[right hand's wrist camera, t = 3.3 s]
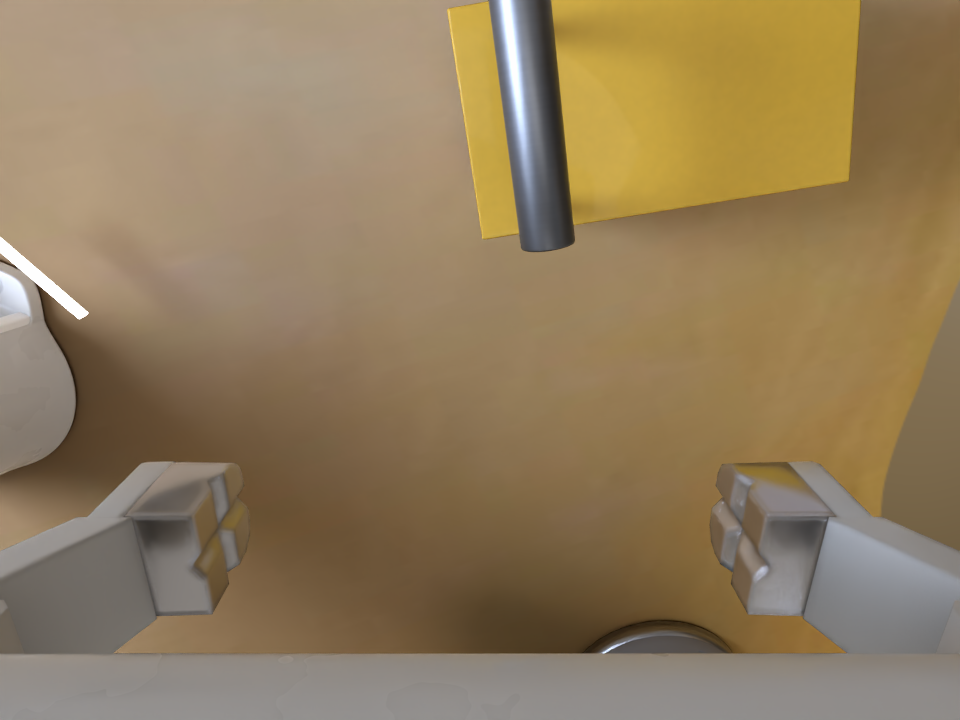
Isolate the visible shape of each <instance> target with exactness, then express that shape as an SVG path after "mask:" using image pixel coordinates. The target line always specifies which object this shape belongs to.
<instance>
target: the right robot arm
mask: <svg viewBox="0 0 960 720" xmlns="http://www.w3.org/2000/svg"><path fill="white" fill-rule="evenodd" d="M0 252H1V253H2V254H3V255H4V256H5V257H6V258H8V259H9V260H10V261H11V262H12V263H13V264H15V265H16V266H17V267H18V268H19V269H21V270H22V271H21V270H18V269H16V268H14V267H12V266H9V265H7V264H5V263H2V262H0V475H1V474H4V473H6V472H8V471H11V470H14V469H16V468H19V467H22V466H26V465H29V464H32V463H34V462H36V461H39V460H41V459H42V458H44V457H46V456H47V455H49V454H50V453H51V452H53V451H54V450H55V449H56V448H57V447H58V446H59V445H60V444H61V443H62V441H63V440H64V439H65V437H66V436H67V434H68V432H69V430H70V428H71V425H72V422H73V419H74V414H75V408H76V393H75V386H74V381H73V377H72V374H71V371H70V368H69V365H68V363H67V361H66V359H65V356H64V355H63V353H62V351H61V349H60V348H59V346H58V344H57V343H56V341H55V339H54V338H53V336H52V335H51V333H50V331H49V329H48V328H47V325H46V323H45V321H44V315H43V309H42V304H41V299H40V295H39V292H38V289H37V286H36V284H35V283H34V281H35V282H36V283H37V284H38V285H39V286H41V287H42V288H43V289H44V290H45V291H46V292H48V293H49V294H50V295H51V296H52V297H53V298H55V299H56V300H57V301H58V302H59V303H61V304H62V305H63V306H64V307H65V308H66V309H68V310H69V311H70V312H71V313H72V314H73V315H75V316H76V317H77V318H78V319H81V318H83V317H85V316H86V315H87V314H88V312H87V311H86V310H84V309H83V308H82V307H81V306H80V305H79V304H77V303H76V302H75V301H74V300H73V299H72V298H70V297H69V296H68V295H67V294H66V293H65V292H64V291H62V290H61V289H60V288H59V287H58V286H57V285H55V284H54V283H53V282H52V281H51V280H50V279H48V278H47V277H46V276H45V275H44V274H43V273H41V272H40V271H39V270H38V269H37V268H36V267H34V266H33V265H32V264H31V263H30V262H29V261H27V260H26V259H25V258H24V257H23V256H22V255H20V254H19V253H18V252H17V251H16V250H15V249H13V248H12V247H11V246H10V245H9V244H8V243H6V242H5V241H4V240H3V239H2V238H1V237H0ZM243 487H244V482H243V477H242V472H241V468H240V467H239V466H238V465H237V464H236V463H212V462H174V461H167V462H146V463H141V464H140V465H139V466H138V467H137V468H136V469H135V470H134V471H133V472H132V473H131V474H130V475H129V476H128V477H127V478H126V479H125V480H124V481H123V482H122V483H121V484H120V485H119V486H118V487H117V488H116V489H115V490H114V491H113V492H112V493H111V494H110V495H109V496H108V497H107V498H106V499H105V500H104V501H103V502H102V503H101V504H100V505H99V506H98V507H97V508H96V509H95V510H94V511H93V512H92V513H91V514H90V515H89V516H88V517H76V518H74V519H72V520H70V521H67V522H65V523H63V524H61V525H58V526H56V527H54V528H51V529H49V530H47V531H45V532H42V533H40V534H38V535H36V536H33V537H31V538H29V539H27V540H24V541H22V542H20V543H18V544H15V545H13V546H11V547H8V548H6V549H4V550H2V551H0V720H960V551H958V550H956V549H954V548H951V547H949V546H947V545H945V544H942V543H940V542H938V541H936V540H933V539H931V538H929V537H926V536H924V535H922V534H920V533H917V532H915V531H913V530H911V529H908V528H906V527H904V526H902V525H899V524H897V523H895V522H893V521H890V520H888V519H886V518H884V517H872V516H871V515H870V514H869V513H868V512H867V511H866V510H865V509H864V508H863V507H862V506H861V505H860V504H859V503H858V502H857V501H856V500H855V499H854V498H853V497H852V496H851V495H850V494H849V493H848V492H847V491H846V490H845V489H844V488H843V487H842V486H841V485H840V484H839V483H838V482H837V481H836V480H835V479H834V478H833V477H832V476H831V475H830V474H829V473H828V472H827V471H826V470H825V469H824V468H823V467H822V466H821V465H820V464H818V463H816V462H813V461H803V462H773V463H733V464H722V465H721V468H720V470H719V472H718V476H717V481H716V487H717V489H718V490H719V492H720V493H721V495H722V496H723V497H722V498H721V499H720V500H719V501H718V502H717V503H716V504H715V505H714V506H713V507H712V511H711V519H710V534H711V543H712V546H713V549H714V553H715V555H716V557H717V559H718V561H719V562H720V564H721V565H723V566H724V567H726V568H727V569H729V570H730V571H732V572H733V575H732V580H731V585H732V587H733V588H734V590H735V592H736V594H737V596H738V597H739V599H740V601H741V603H742V605H743V606H744V608H745V610H746V612H747V614H750V615H787V616H803V619H804V620H806V621H807V622H808V623H810V624H811V625H812V626H813V627H815V628H816V629H817V630H819V631H820V632H821V633H822V634H824V635H825V636H826V637H827V638H829V639H830V640H831V641H833V642H834V643H835V644H836V645H838V646H839V647H840V648H842V649H843V650H844V651H845V652H847V653H690V654H689V653H688V654H260V653H114V652H115V651H116V650H117V649H119V648H120V647H121V646H123V645H124V644H125V643H126V642H128V641H129V640H130V639H131V638H133V637H134V636H135V635H137V634H138V633H139V632H140V631H142V630H143V629H144V628H146V627H147V626H148V625H149V624H151V623H152V622H153V621H155V620H156V619H157V617H156V616H172V615H208V614H213V612H214V610H215V608H216V607H217V605H218V603H219V601H220V599H221V597H222V596H223V594H224V592H225V590H226V588H227V587H228V585H229V580H228V575H227V572H228V571H230V570H231V569H233V568H234V567H236V566H237V565H239V564H240V562H241V561H242V559H243V557H244V555H245V553H246V550H247V545H248V541H249V536H250V517H249V511H248V507H247V506H246V505H245V504H244V503H243V502H242V501H241V500H240V499H239V498H238V497H237V496H238V495H239V493H240V492H241V490H242V489H243Z"/></svg>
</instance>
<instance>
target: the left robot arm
mask: <svg viewBox="0 0 960 720" xmlns="http://www.w3.org/2000/svg"><path fill="white" fill-rule="evenodd" d="M688 653H689V654H690V653H732V652H731V650H730V649H729V647H728V646H727V645H726V644H725V643H724V642H723V641H722V640H721V639H719V638H718V637H717V636H715V635H714V634H712V633H710V632H709V631H707V630H704V629H702V628H700V627H697V626H694V625H690V624H686V623H681V622H673V621H653V622H645V623H639V624H635V625H631V626H627V627H624V628H621V629H619V630H616V631H614V632H612V633H610V634H608V635H606V636H604V637H603V638H601V639H599V640H598V641H597V642H595V643H594V644H592V645H591V646H590V647H589V648H588V649H587V650H586V651H585V652H584V653H583V654H688Z"/></svg>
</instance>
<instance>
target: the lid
mask: <svg viewBox="0 0 960 720" xmlns="http://www.w3.org/2000/svg"><path fill="white" fill-rule="evenodd" d="M860 9H861V0H488V1H487V2H481V3H476V4H470V5H464V6H459V7H453V8H449V9H448V10H447V13H448V20H449V26H450V33H451V39H452V46H453V52H454V59H455V65H456V72H457V78H458V84H459V91H460V97H461V104H462V110H463V117H464V123H465V130H466V136H467V143H468V149H469V156H470V162H471V168H472V175H473V181H474V188H475V194H476V201H477V207H478V214H479V220H480V227H481V233H482V238H483V239H491V238H498V237H504V236H510V235H516V234H519V236H520V243H521V248H522V250H524V251H528V252H545V251H552V250H557V249H561V248H565V247H568V246H570V245H572V244H573V243H574V242H575V236H574V226H573V225H579V224H585V223H592V222H598V221H604V220H610V219H617V218H623V217H629V216H636V215H642V214H648V213H654V212H661V211H667V210H673V209H679V208H686V207H692V206H698V205H704V204H711V203H717V202H723V201H730V200H736V199H742V198H748V197H755V196H761V195H767V194H773V193H780V192H786V191H792V190H799V189H805V188H811V187H817V186H824V185H830V184H836V183H842V182H847V181H849V176H850V161H851V145H852V130H853V115H854V100H855V85H856V70H857V55H858V39H859V24H860Z"/></svg>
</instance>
